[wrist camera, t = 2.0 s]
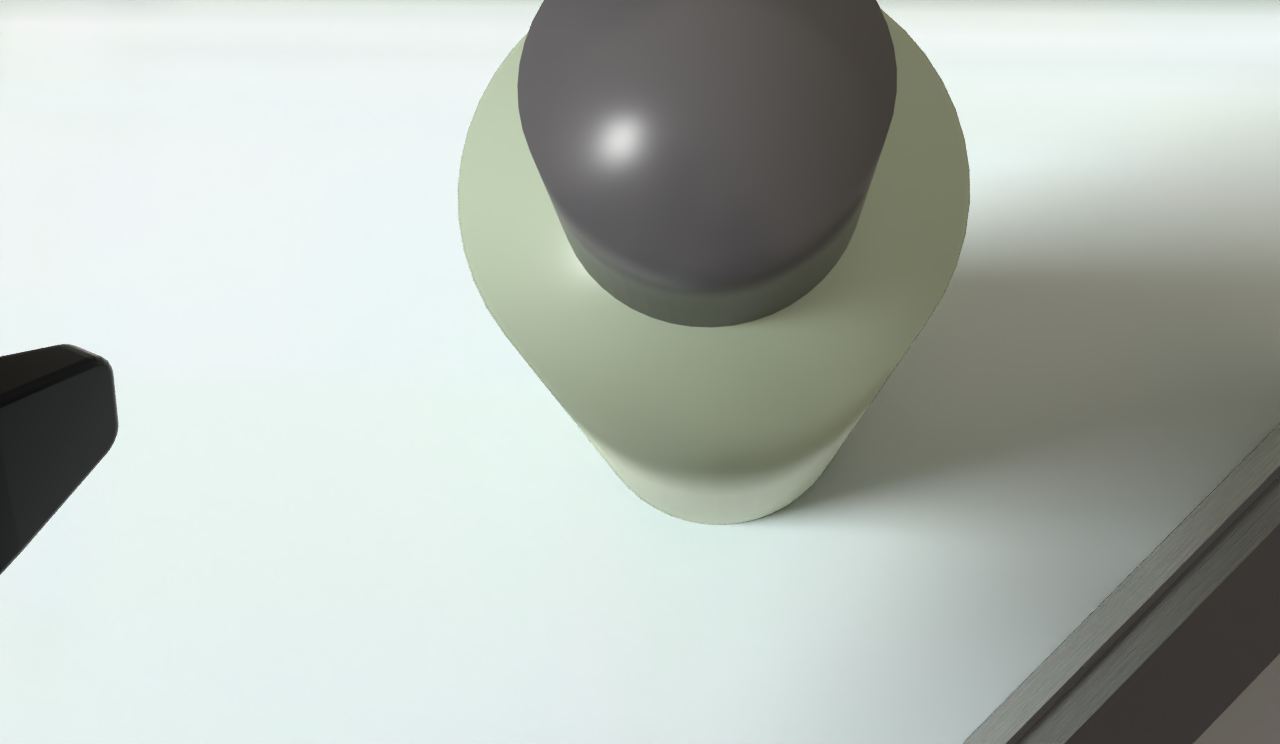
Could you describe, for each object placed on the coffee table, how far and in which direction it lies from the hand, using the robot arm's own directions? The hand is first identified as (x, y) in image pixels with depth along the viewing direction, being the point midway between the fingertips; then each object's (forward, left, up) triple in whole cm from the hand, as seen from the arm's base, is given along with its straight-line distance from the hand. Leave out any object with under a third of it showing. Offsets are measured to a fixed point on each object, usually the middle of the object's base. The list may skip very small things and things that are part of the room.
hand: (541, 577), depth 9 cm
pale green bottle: (+4, 0, -11) cm, 12 cm away
